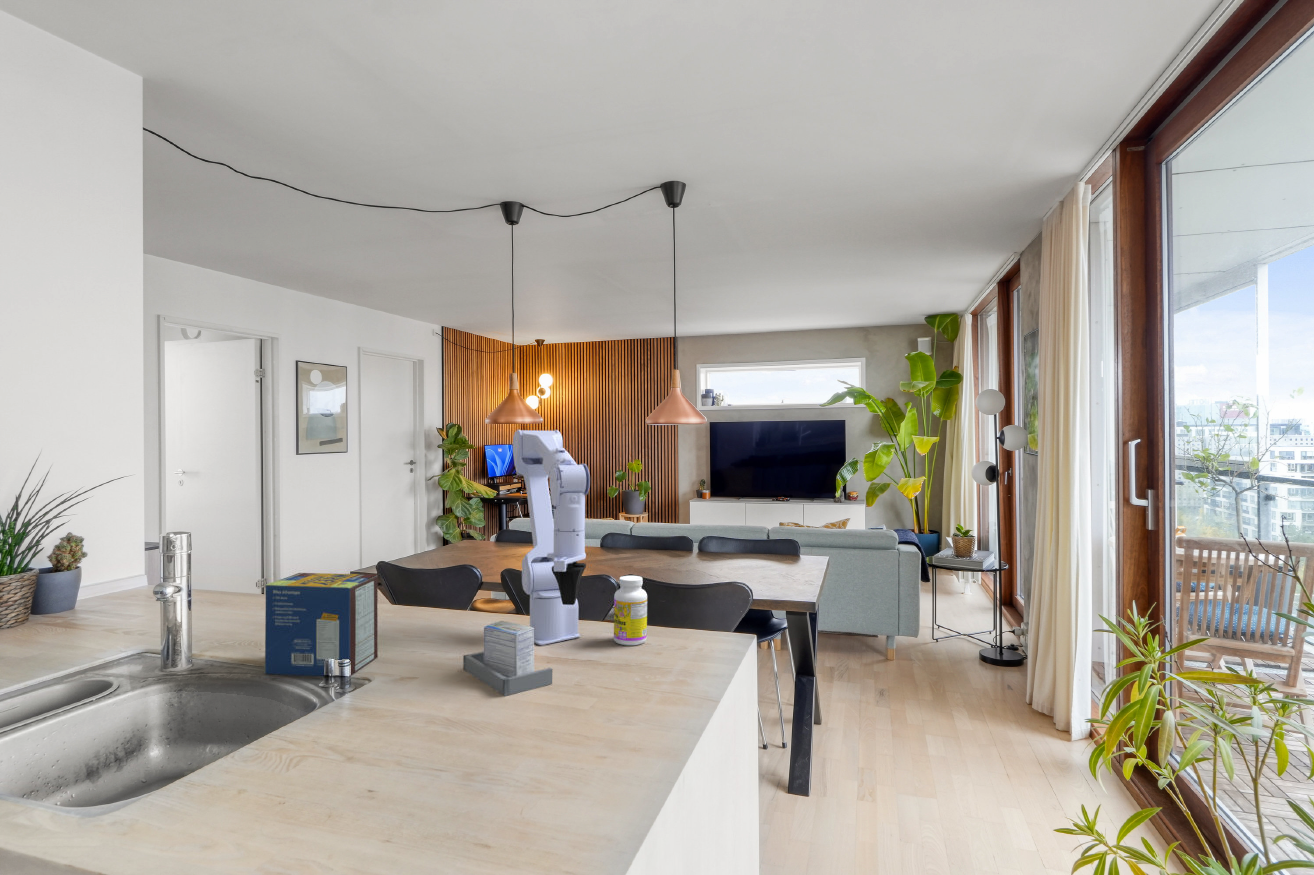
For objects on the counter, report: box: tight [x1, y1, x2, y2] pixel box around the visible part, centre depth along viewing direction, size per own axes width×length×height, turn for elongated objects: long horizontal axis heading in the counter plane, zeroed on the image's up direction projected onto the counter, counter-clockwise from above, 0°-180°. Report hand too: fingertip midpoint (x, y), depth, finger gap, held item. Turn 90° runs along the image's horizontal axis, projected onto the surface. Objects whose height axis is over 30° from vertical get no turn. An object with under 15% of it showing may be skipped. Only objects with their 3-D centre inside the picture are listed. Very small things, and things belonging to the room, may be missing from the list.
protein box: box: [264, 572, 379, 677], centre depth 123 cm, size 10×15×16 cm
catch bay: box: [462, 650, 553, 697], centre depth 119 cm, size 9×16×2 cm, turn 40°
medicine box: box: [483, 620, 535, 678], centre depth 119 cm, size 8×4×9 cm, turn 58°
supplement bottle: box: [613, 575, 648, 647], centre depth 139 cm, size 7×7×13 cm
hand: (568, 603), depth 127 cm, fingers closed
